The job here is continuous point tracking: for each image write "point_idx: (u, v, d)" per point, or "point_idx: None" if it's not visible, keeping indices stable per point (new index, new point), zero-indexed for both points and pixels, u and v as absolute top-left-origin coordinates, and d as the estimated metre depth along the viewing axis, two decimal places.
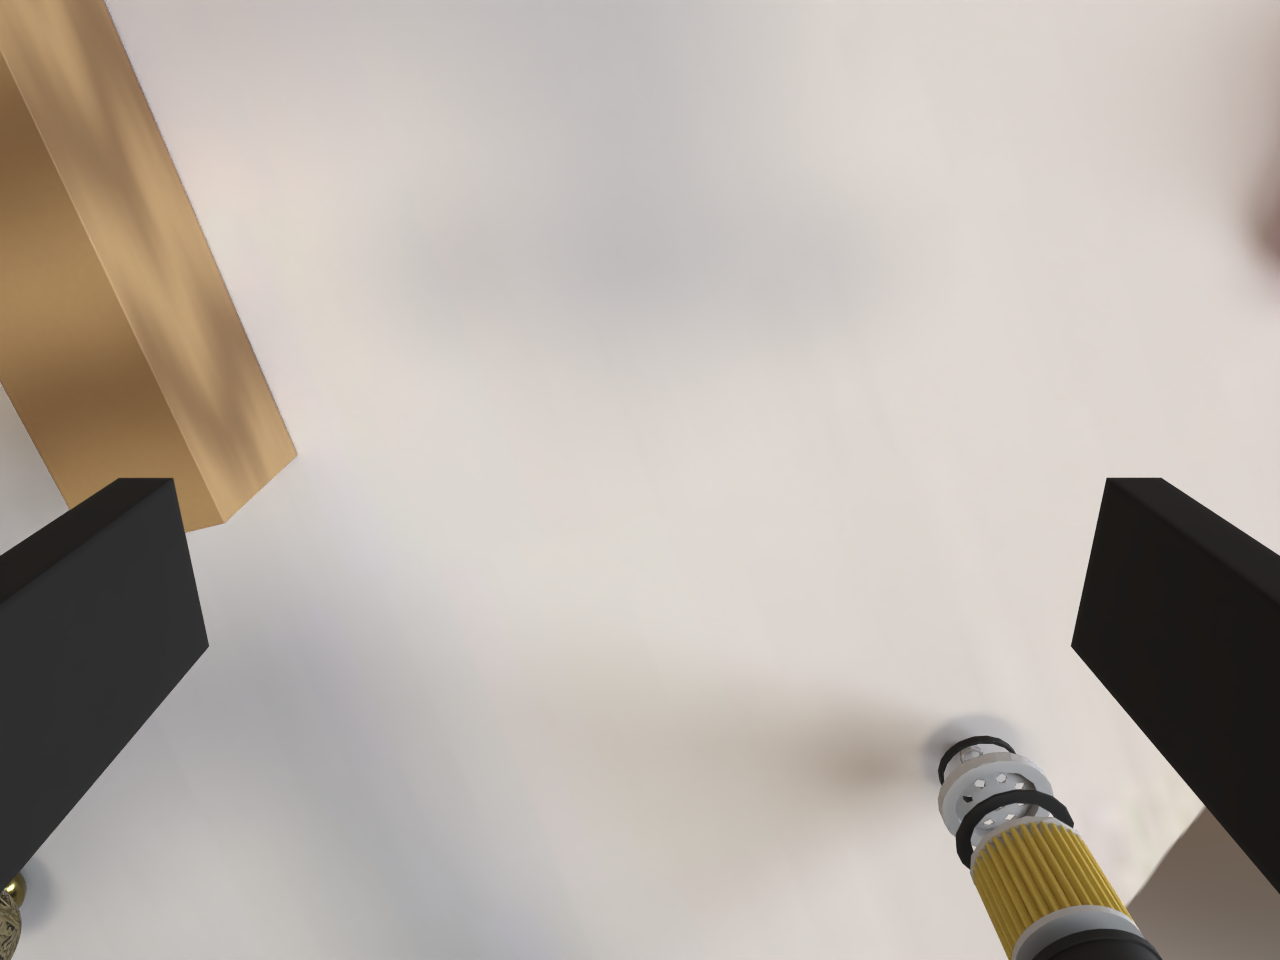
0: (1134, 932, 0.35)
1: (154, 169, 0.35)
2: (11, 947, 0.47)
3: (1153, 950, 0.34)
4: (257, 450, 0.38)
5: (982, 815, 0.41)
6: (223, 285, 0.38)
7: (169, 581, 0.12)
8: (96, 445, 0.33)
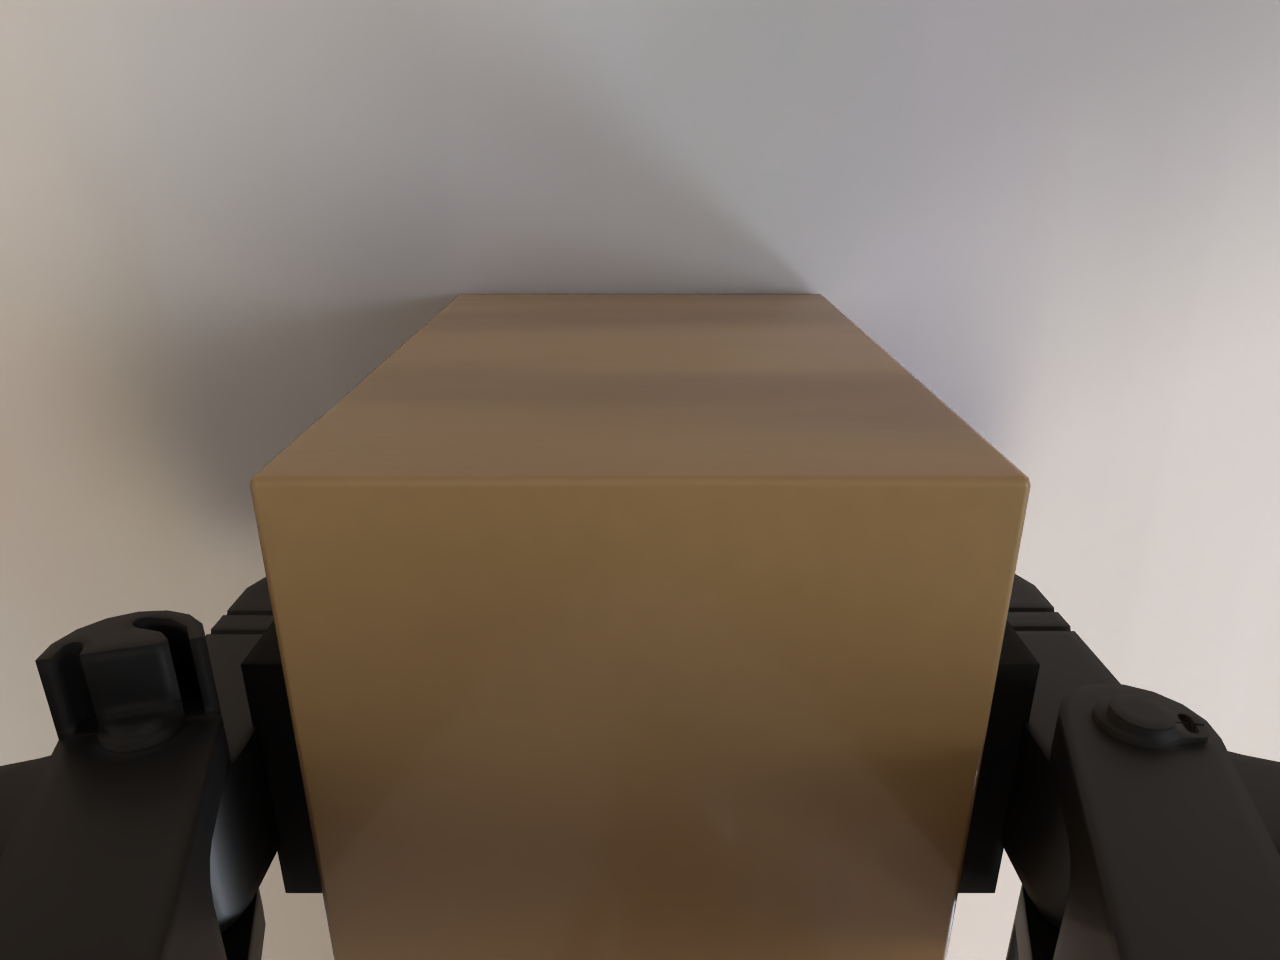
0: None
1: None
2: None
3: None
4: None
5: None
6: None
7: None
8: None
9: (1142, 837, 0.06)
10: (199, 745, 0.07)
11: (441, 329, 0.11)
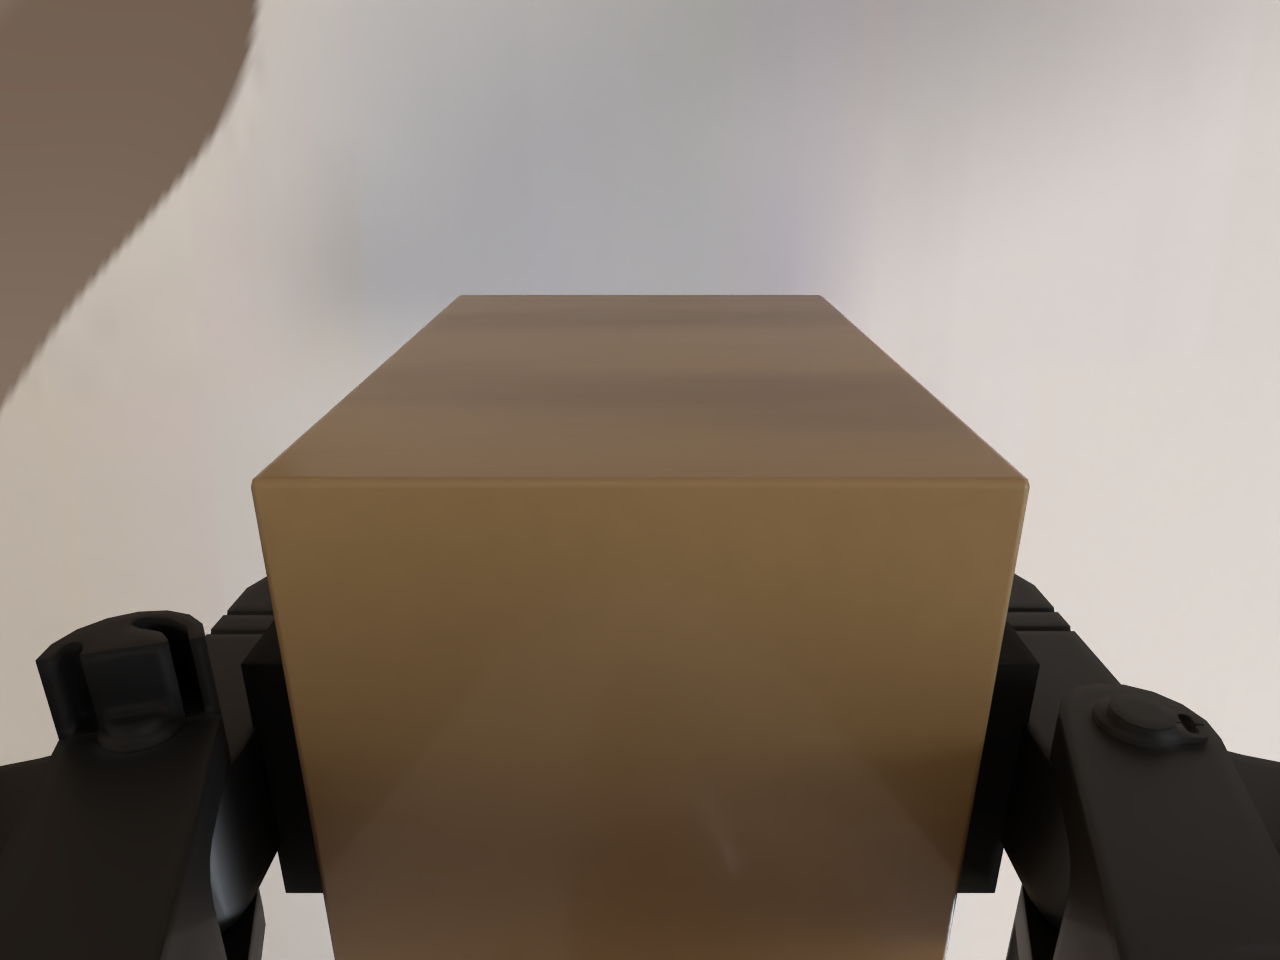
0: None
1: None
2: None
3: None
4: None
5: None
6: None
7: None
8: None
9: (1142, 837, 0.06)
10: (199, 745, 0.07)
11: (441, 330, 0.11)
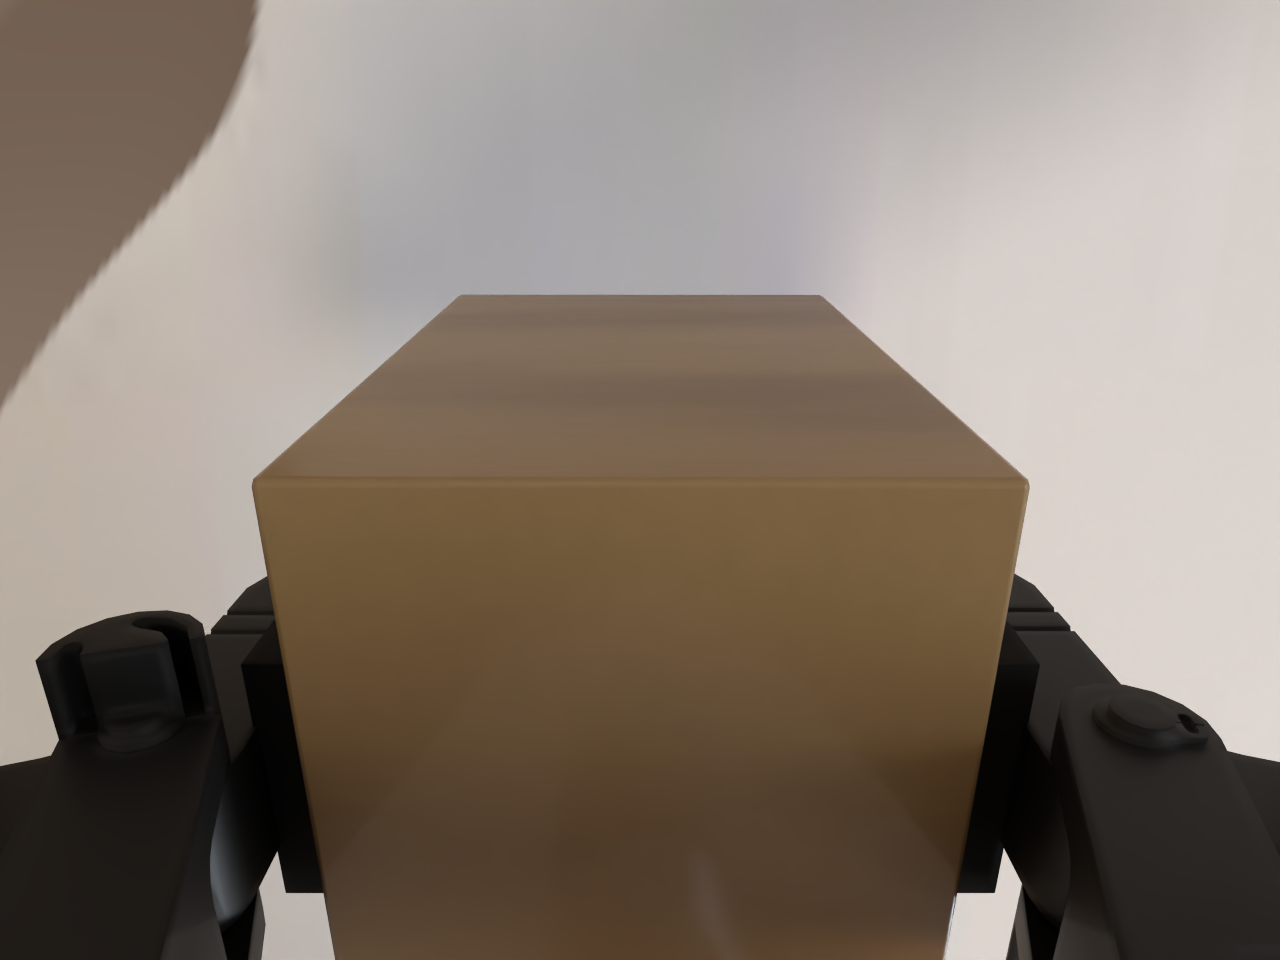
0: None
1: None
2: None
3: None
4: None
5: None
6: None
7: None
8: None
9: (1143, 837, 0.06)
10: (200, 745, 0.07)
11: (441, 330, 0.11)
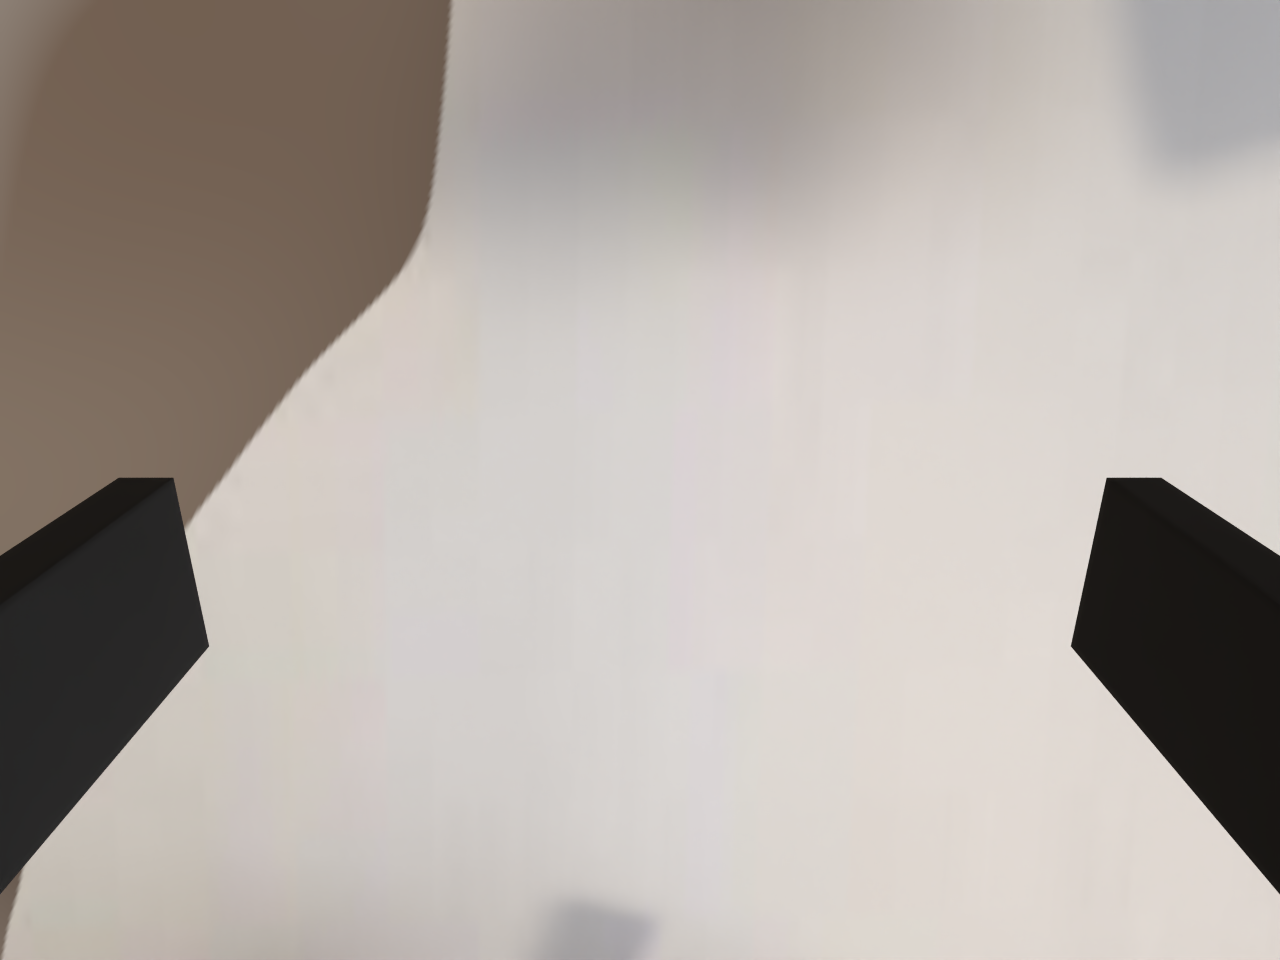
0: None
1: None
2: None
3: None
4: None
5: None
6: None
7: (169, 581, 0.12)
8: None
9: None
10: None
11: None
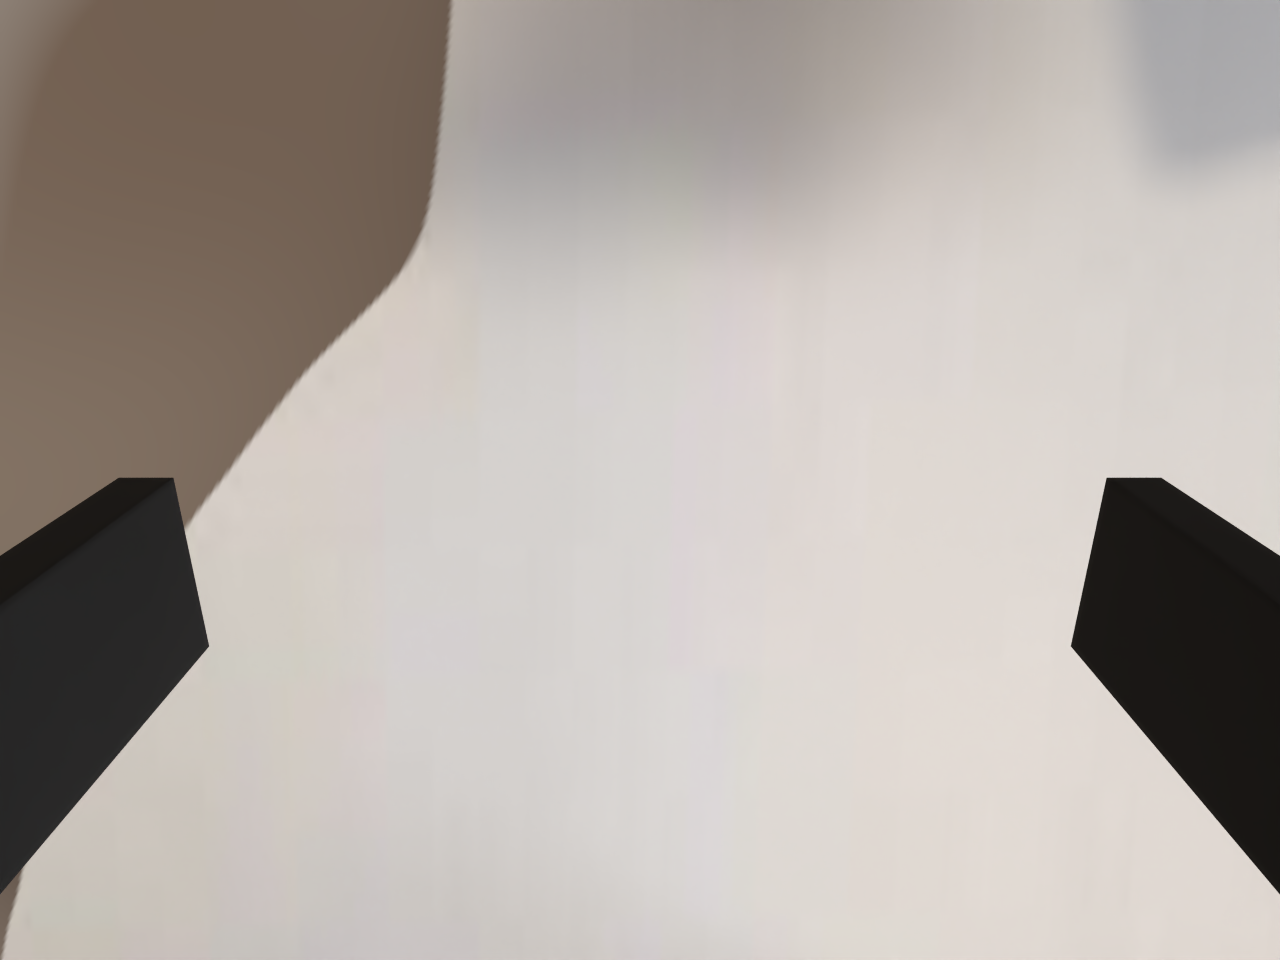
0: None
1: None
2: None
3: None
4: None
5: None
6: None
7: (169, 581, 0.12)
8: None
9: None
10: None
11: None
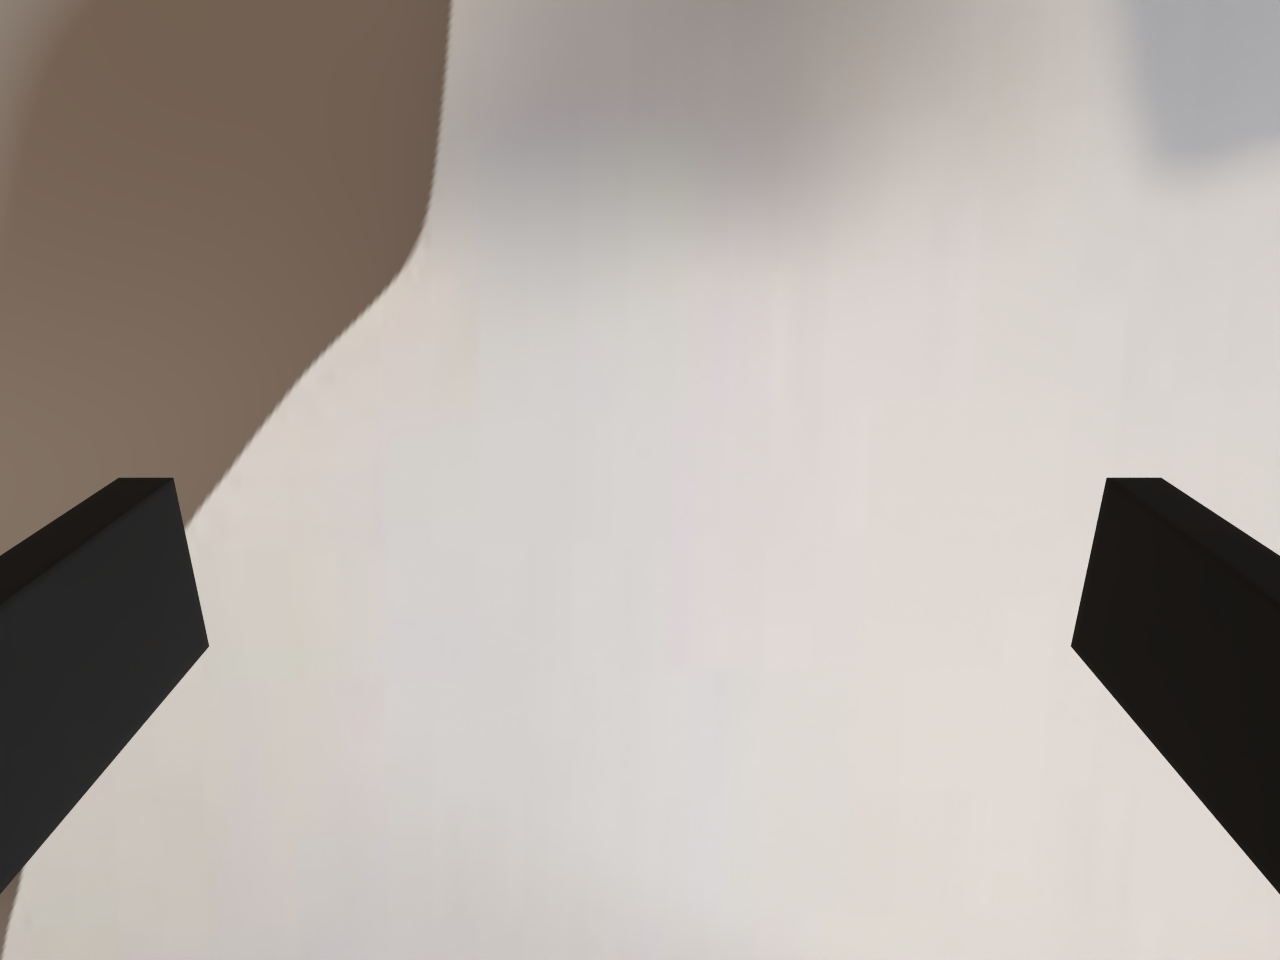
0: None
1: None
2: None
3: None
4: None
5: None
6: None
7: (169, 581, 0.12)
8: None
9: None
10: None
11: None
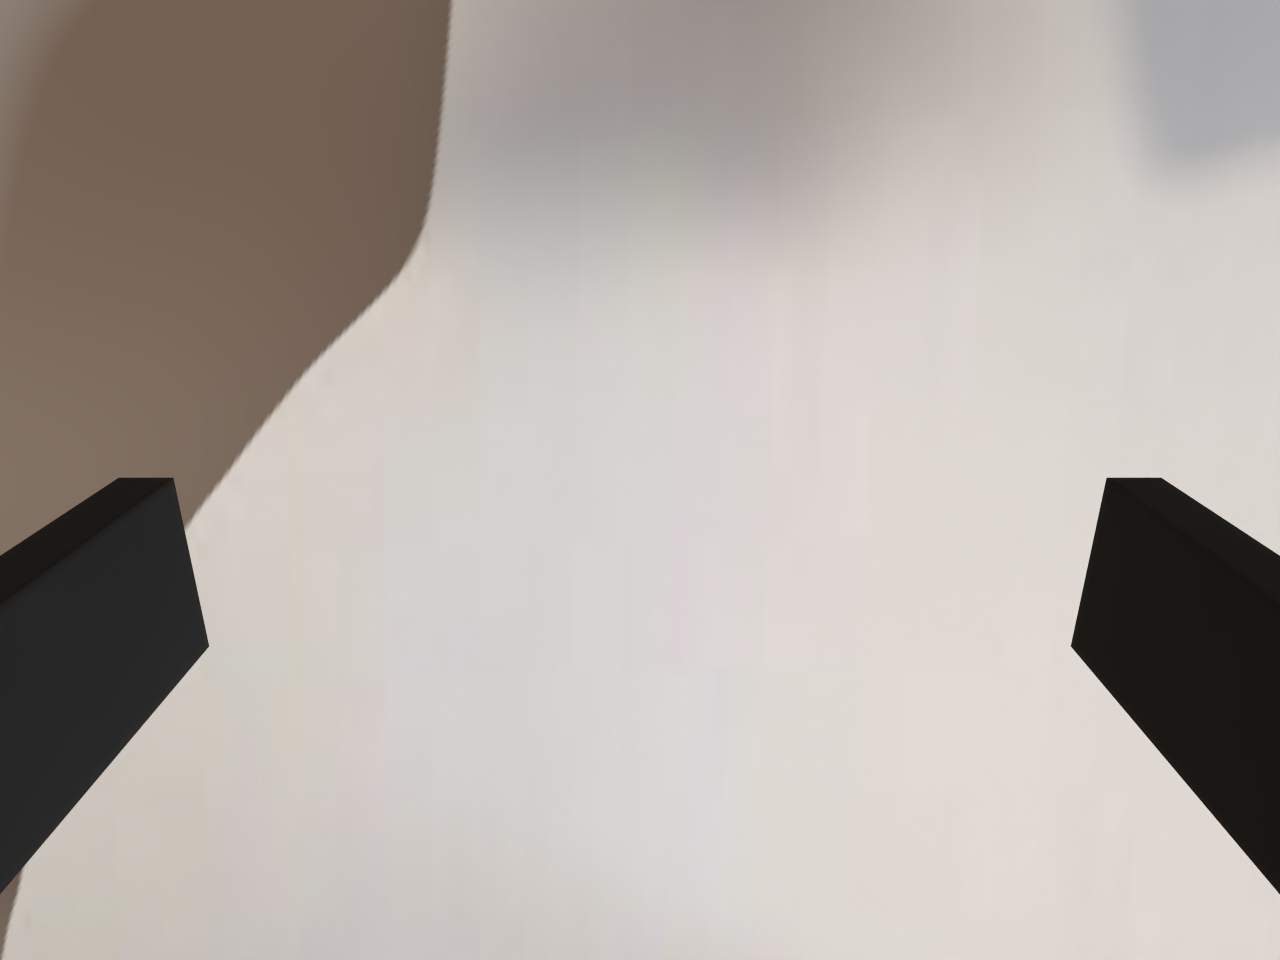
0: None
1: None
2: None
3: None
4: None
5: None
6: None
7: (169, 581, 0.12)
8: None
9: None
10: None
11: None
